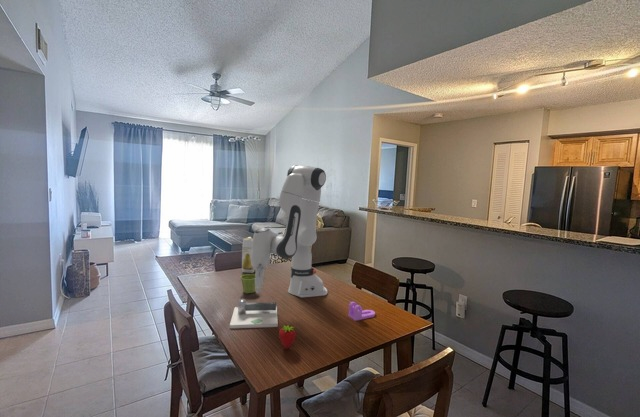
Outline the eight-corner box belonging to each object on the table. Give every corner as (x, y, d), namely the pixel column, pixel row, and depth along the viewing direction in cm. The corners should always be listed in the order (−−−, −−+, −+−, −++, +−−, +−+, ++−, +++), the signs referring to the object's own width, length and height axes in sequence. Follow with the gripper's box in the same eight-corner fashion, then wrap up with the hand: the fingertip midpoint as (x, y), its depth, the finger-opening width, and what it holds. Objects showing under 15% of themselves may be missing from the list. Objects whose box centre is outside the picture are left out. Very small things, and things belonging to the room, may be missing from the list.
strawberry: (288, 341, 118) (289, 317, 117) (298, 350, 112) (299, 325, 111) (275, 345, 114) (275, 320, 113) (284, 355, 108) (285, 329, 107)
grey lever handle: (237, 314, 135) (237, 302, 135) (238, 311, 139) (238, 299, 138) (276, 313, 138) (276, 301, 137) (276, 310, 141) (276, 298, 141)
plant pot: (236, 292, 165) (237, 277, 165) (246, 287, 174) (247, 273, 173) (250, 296, 162) (251, 280, 161) (260, 290, 171) (261, 275, 170)
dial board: (276, 309, 147) (276, 305, 147) (277, 326, 129) (277, 323, 129) (234, 310, 143) (234, 306, 143) (229, 328, 126) (229, 324, 126)
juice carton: (240, 272, 201) (241, 237, 199) (245, 269, 209) (246, 235, 207) (253, 273, 200) (254, 238, 198) (258, 270, 207) (259, 236, 205)
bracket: (355, 321, 138) (355, 306, 138) (348, 316, 143) (349, 302, 143) (377, 316, 144) (378, 302, 144) (370, 311, 149) (370, 298, 149)
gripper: (266, 267, 136) (264, 297, 137) (266, 256, 156) (265, 282, 157) (252, 267, 135) (250, 297, 136) (254, 256, 155) (252, 282, 156)
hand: (258, 289), depth 147 cm, fingers open, 8 cm apart
